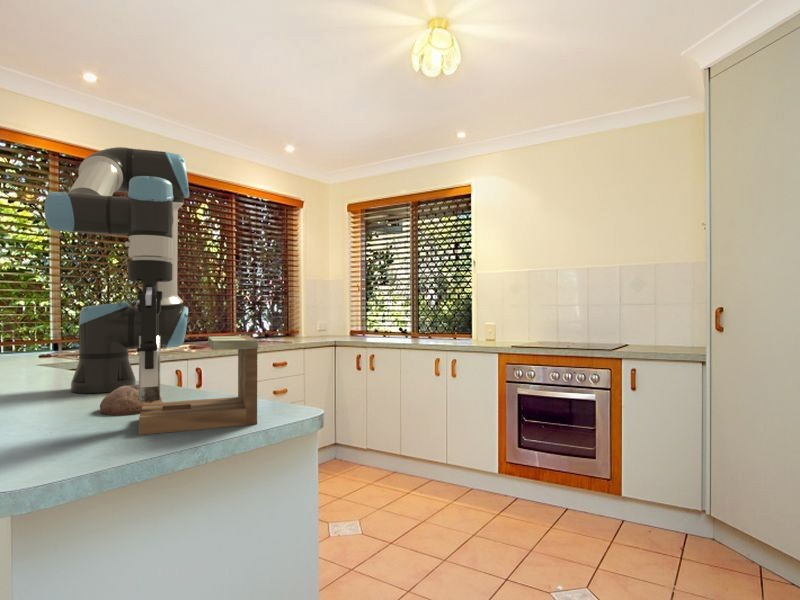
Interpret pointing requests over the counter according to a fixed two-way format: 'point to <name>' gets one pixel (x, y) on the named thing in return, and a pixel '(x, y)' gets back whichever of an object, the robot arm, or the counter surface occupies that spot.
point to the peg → (149, 392)
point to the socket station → (210, 410)
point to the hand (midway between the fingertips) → (150, 384)
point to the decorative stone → (123, 401)
